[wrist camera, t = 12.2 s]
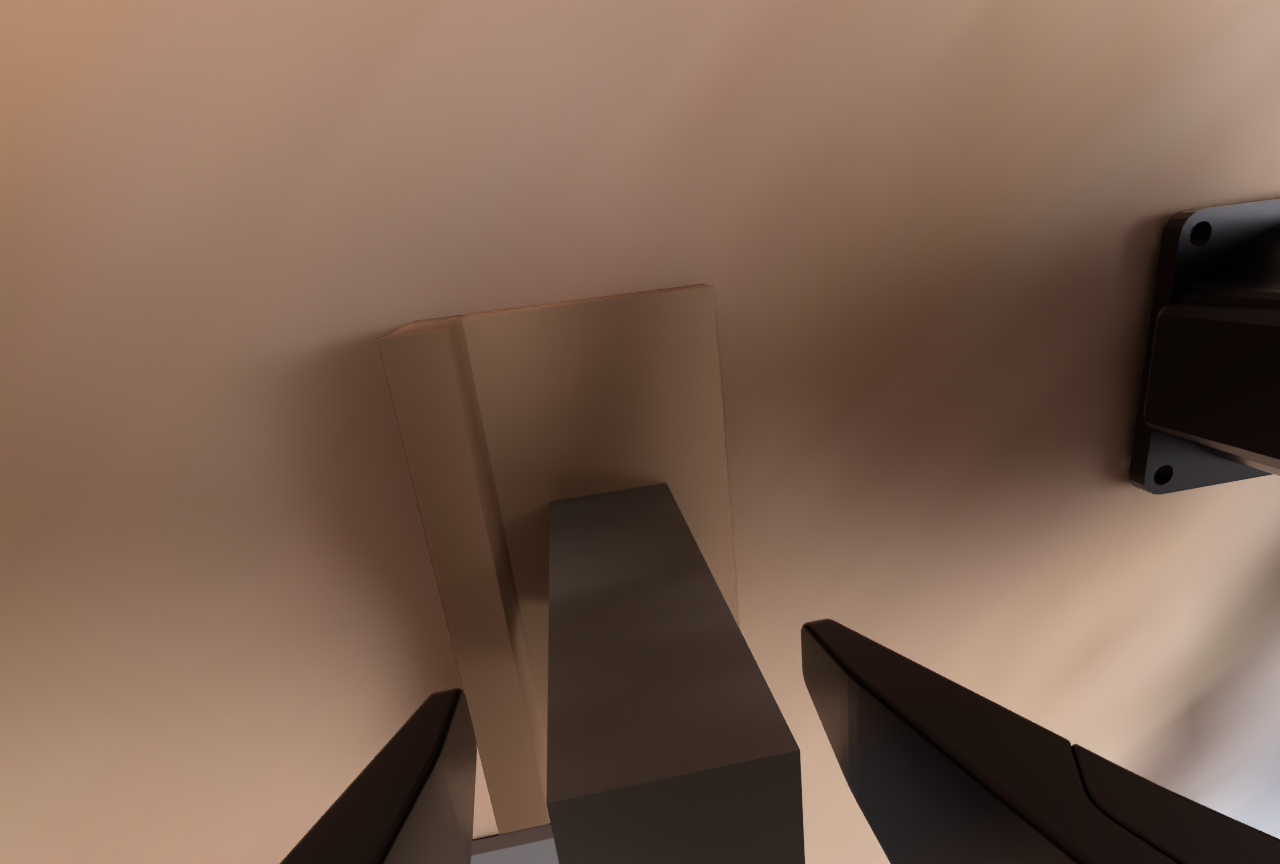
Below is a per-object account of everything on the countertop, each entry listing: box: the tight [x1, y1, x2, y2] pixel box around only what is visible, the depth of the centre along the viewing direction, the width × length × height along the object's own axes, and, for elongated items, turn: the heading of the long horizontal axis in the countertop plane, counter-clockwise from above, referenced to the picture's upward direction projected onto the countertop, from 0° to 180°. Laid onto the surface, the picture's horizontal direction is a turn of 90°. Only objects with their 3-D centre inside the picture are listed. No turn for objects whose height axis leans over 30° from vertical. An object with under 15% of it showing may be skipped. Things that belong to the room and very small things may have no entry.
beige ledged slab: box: [377, 284, 805, 864], centre depth 10 cm, size 6×10×8 cm, turn 7°
